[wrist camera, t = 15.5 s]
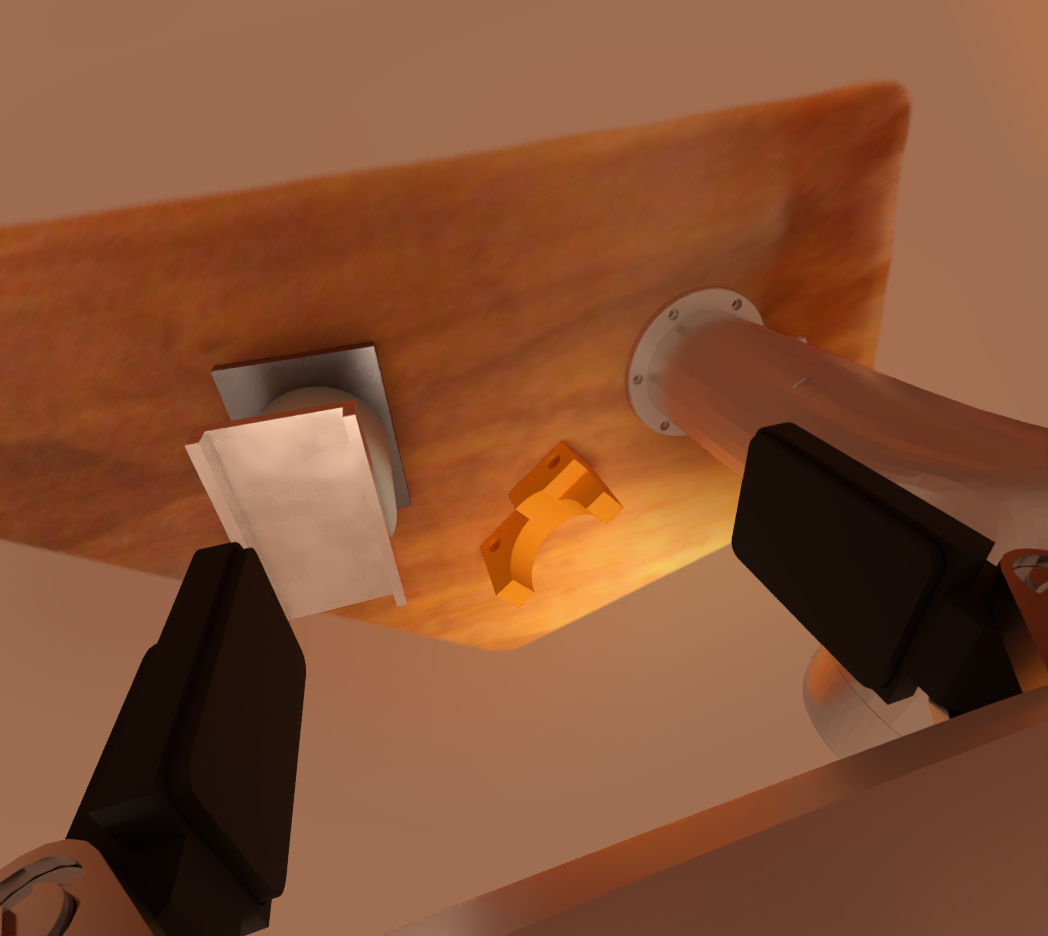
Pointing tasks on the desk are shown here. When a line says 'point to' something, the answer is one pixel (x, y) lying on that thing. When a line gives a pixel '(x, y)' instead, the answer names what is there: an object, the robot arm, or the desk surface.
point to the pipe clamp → (543, 518)
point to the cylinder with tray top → (308, 475)
